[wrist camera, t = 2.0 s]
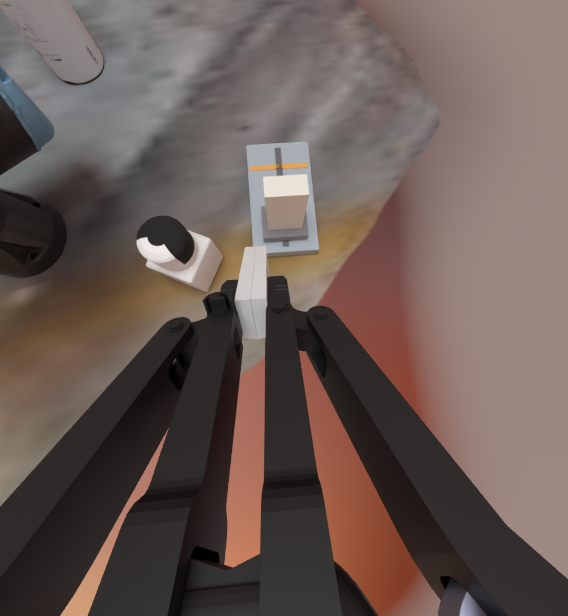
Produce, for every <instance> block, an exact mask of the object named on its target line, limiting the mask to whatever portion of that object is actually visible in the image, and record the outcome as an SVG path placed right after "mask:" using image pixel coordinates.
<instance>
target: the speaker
mask: <svg viewBox="0 0 568 616" xmlns="http://www.w3.org/2000/svg"><path fill="white" fill-rule="evenodd" d="M0 9H1V10H2V12H3V13H4V14H5V15H6V16H7V17H8V19H9V20H10V21H11V22H12V23H13V24H14V26H15V27H16V28H17V29H18V30H19V31H20V33H21V34H22V35H23V36H24V37H25V38H26V40H27V41H28V42H29V43H30V44H31V45H32V47H33V48H34V49H35V50H36V51H37V52H38V54H39V55H40V56H41V57H42V58H43V59H44V60H45V62H46V63H47V64H48V65H49V66H50V67H51V69H52V70H53V71H54V72H55V73H56V74H57V75H58V77H59V78H61V79H62V80H64V81H66V82H68V83H71V84H84V83H87V82H90V81H92V80H94V79H95V78H96V77H97V76H98V75H99V74H100V73H101V71H102V68H103V65H104V61H103V56H102V54H101V52H100V50H99V49H98V47H97V46H96V44H95V43H94V41H93V39H92V38H91V36H90V35H89V33H88V31H87V30H86V28H85V27H84V25H83V24H82V22H81V20H80V19H79V17H78V16H77V14H76V12H75V11H74V9H73V8H72V6H71V5H70V3H69V1H68V0H0Z"/></svg>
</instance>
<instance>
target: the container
mask: <svg viewBox="0 0 568 616" xmlns="http://www.w3.org/2000/svg"><path fill="white" fill-rule="evenodd" d="M137 247H138V250H139V252H140V253H141V254H142V256H143V257H145V258H146V259H148V261H147V263H146V266H147V267H148V268H150V269H152V270H154V271H156V272H158V273H160V274H162V275H164V276H167V277H169V278H171V279H173V280H176V281H178V282H181V283H183V284H186V285H188V286H191V287H194V288H196V289H199V290H201V291H204V292H208V291H209V288H210V286H211V284H212V282H213V279H214V277H215V275H216V272H217V270H218V268H219V266H220V263H221V261H222V259H223V255H222V254H221V252H220V251H219V250H218V248H217V247H216V246H215V244H214V243H213V242H212V240H211V239H210V238H207V237H205V236H202V235H199V234H197V233H194V232H191V231H189V230H186V228H185V227H184V226H183V225H182V224H181V223H180V222H179V221H178V220H176V219H174V218H172V217H169V216H156V217H153V218H151V219H149V220H147V221H146V222H145V223H144V224H143V225H142V226H141V227H140V229H139V231H138V234H137Z"/></svg>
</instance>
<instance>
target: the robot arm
mask: <svg viewBox="0 0 568 616" xmlns="http://www.w3.org/2000/svg"><path fill="white" fill-rule="evenodd" d="M53 136H54V127H53V125H52V123H51V122H50V120H49V119H48V118H47V117H46V116H45V115H44V113H43V112H42V111H41V110H40V109H39V108H38V107H37V106H36V105H35V103H34V102H33V101H32V100H31V99H30V98H29V97H28V96H27V95H26V93H25V92H24V91H23V90H22V89H21V88H20V87H19V86H18V85H17V84H16V82H15V81H14V80H13V79H12V78H11V77H10V76H9V75H8V74H7V73H6V71H5V70H4V69H3V68H2V67H1V66H0V175H1V174H3V173H5V172H6V171H8V170H9V169H11V168H12V167H14V166H16V165H17V164H19V163H20V162H22V161H23V160H25V159H27V158H28V157H30V156H31V155H33V154H34V153H36V152H39V151H40V150H41V147H42V146H44V145H45V144H46V143H47V142H48V141H50V140H51V139H52V138H53ZM65 239H66V230H65V225H64V222H63V220H62V218H61V216H60V215H59V214H58V212H57V211H56V210H54V209H53V208H52V207H50V206H49V205H47V204H45V203H43V202H41V201H39V200H37V199H35V198H33V197H31V196H28V195H24V194H20V193H17V192H13V191H9V190H6V189H2V188H0V274H1V275H6V276H11V277H28V276H32V275H35V274H38V273H40V272H42V271H44V270H45V269H47V268H48V267H49V266H50V265H52V264H53V263H54V262H55V260H56V259H57V258H58V257H59V255H60V253H61V252H62V249H63V247H64V244H65ZM203 303H204V306H205V309H206V311H207V317H206V318H205V319H202V320H199V321H196V322H192V323H191V321H190V320H189V319H188V318H185V317H178V318H174V319H172V320H170V321H168V322H167V323H165V324H164V325H163V326H162V327H161V328H160V329H159V331H158V332H157V333H156V334H155V335H154V336H153V337H152V338H151V340H150V341H149V342H148V343H147V344H146V345H145V346H144V347H143V348H142V350H141V351H140V352H139V353H138V354H137V355H136V356H135V357H134V358H133V360H132V361H131V362H130V363H129V364H128V365H127V366H126V367H125V368H124V370H123V371H122V372H121V373H120V374H119V375H118V376H117V377H116V378H115V380H114V381H113V382H112V383H111V384H110V385H109V386H108V387H107V388H106V390H105V391H104V392H103V393H102V394H101V395H100V396H99V397H98V399H97V400H96V401H95V402H94V403H93V404H92V405H91V406H90V407H89V409H88V410H87V411H86V412H85V413H84V414H83V415H82V416H81V417H80V419H79V420H78V421H77V422H76V423H75V424H74V425H73V426H72V427H71V429H70V430H69V431H68V432H67V433H66V434H65V435H64V436H63V437H62V439H61V440H60V441H59V442H58V443H57V444H56V445H55V446H54V447H53V449H52V450H51V451H50V452H49V453H48V454H47V455H46V456H45V458H44V459H43V460H42V461H41V462H40V463H39V464H38V465H37V466H36V468H35V469H34V470H33V471H32V472H31V473H30V474H29V475H28V476H27V478H26V479H25V480H24V481H23V482H22V483H21V484H20V485H19V486H18V488H17V489H16V490H15V491H14V492H13V493H12V494H11V495H10V496H9V498H8V499H7V500H6V501H5V502H4V503H3V504H2V505H1V506H0V616H60V615H61V613H62V612H63V610H64V609H65V607H66V606H67V604H68V603H69V601H70V600H71V598H72V597H73V595H74V594H75V592H76V591H77V589H78V587H79V586H80V584H81V582H82V581H83V579H84V577H85V575H86V574H87V572H88V570H89V569H90V567H91V565H92V564H93V562H94V560H95V558H96V556H97V555H98V553H99V551H100V549H101V547H102V546H103V544H104V542H105V540H106V539H107V537H108V535H109V533H110V532H111V530H112V528H113V526H114V524H115V522H116V521H117V519H118V517H119V515H120V514H121V512H122V510H123V508H124V506H125V505H126V503H127V501H128V499H129V498H130V496H131V494H132V492H133V490H134V489H135V487H136V485H137V483H138V481H139V480H140V478H141V476H142V474H143V473H144V471H145V469H146V467H147V465H148V464H149V462H150V460H151V458H152V457H153V455H154V453H155V451H156V449H157V448H158V446H159V444H160V442H161V440H162V438H163V437H164V435H165V433H166V432H167V430H168V432H167V435H166V438H165V441H164V444H163V448H162V450H161V453H160V456H159V459H158V462H157V465H156V468H155V471H154V474H153V477H152V481H151V483H150V485H149V487H148V490H147V491H146V493H145V494H144V495H143V496H142V497H141V498H140V499H139V500H138V501H137V502H135V503H134V504H133V506H132V508H131V509H130V510H129V512H128V513H127V515H126V518H125V520H124V522H123V524H122V526H121V529H120V531H119V534H118V537H117V539H116V542H115V545H114V547H113V550H112V553H111V555H110V558H109V561H108V563H107V566H106V569H105V571H104V574H103V577H102V579H101V582H100V585H99V587H98V590H97V593H96V595H95V598H94V601H93V603H92V606H91V609H90V611H89V614H88V616H378V614H377V613H376V612H375V610H374V609H373V607H372V606H371V604H370V602H369V601H368V599H367V598H366V596H365V595H364V593H363V592H362V590H361V589H360V588H359V586H358V585H357V584H356V582H355V581H354V580H353V579H352V578H351V577H350V575H349V574H348V573H347V572H346V571H345V570H344V569H343V568H342V567H341V566H340V565H338V564H337V563H336V562H334V560H333V554H332V548H331V541H330V535H329V529H328V523H327V516H326V510H325V504H324V499H323V493H322V488H321V484H320V481H319V478H318V473H317V468H316V461H315V455H314V448H313V442H312V435H311V429H310V423H309V415H308V409H307V402H306V395H305V389H304V382H303V376H302V369H301V362H300V356H299V350H301V351H306V352H307V355H308V357H309V359H310V361H311V363H312V365H313V367H314V369H315V371H316V372H317V375H318V377H319V379H320V381H321V383H322V385H323V386H324V388H325V390H326V392H327V394H328V396H329V398H330V400H331V402H332V404H333V406H334V408H335V410H336V412H337V414H338V416H339V418H340V420H341V422H342V424H343V426H344V428H345V430H346V432H347V433H348V436H349V438H350V439H351V441H352V443H353V445H354V447H355V449H356V451H357V453H358V455H359V457H360V459H361V461H362V463H363V465H364V467H365V469H366V471H367V473H368V475H369V477H370V478H371V481H372V483H373V484H374V487H375V488H376V490H377V492H378V494H379V496H380V498H381V500H382V502H383V504H384V506H385V508H386V510H387V512H388V514H389V516H390V518H391V520H392V522H393V524H394V526H395V527H396V530H397V532H398V533H399V535H400V537H401V539H402V540H403V543H404V544H405V546H406V548H407V550H408V552H409V553H410V555H411V557H412V559H413V560H414V562H415V563H416V565H417V566H418V568H419V569H420V571H421V572H422V574H423V576H424V577H425V579H426V580H427V582H428V583H429V585H430V586H431V588H432V589H433V590H434V592H435V593H436V594H437V596H438V597H439V598H440V600H441V602H440V606H439V610H438V616H568V579H567V578H566V577H565V576H564V575H562V574H561V573H560V572H559V571H558V570H556V568H554V567H553V566H552V565H551V564H550V563H549V562H548V561H546V560H545V559H544V558H543V557H542V556H541V555H540V554H538V553H537V552H536V551H535V550H534V549H533V548H532V547H530V546H529V545H528V544H527V543H526V542H525V541H524V540H523V539H522V538H520V537H519V536H518V535H517V534H516V533H515V532H514V531H512V530H511V529H510V528H509V527H508V526H507V525H506V524H505V523H504V521H502V519H501V518H500V516H499V515H498V514H497V513H496V512H495V510H494V509H493V508H492V507H491V505H490V504H489V503H488V502H487V501H486V499H485V498H484V497H483V495H482V494H481V493H480V492H479V490H478V489H477V488H476V487H475V485H474V484H473V483H472V482H471V481H470V479H469V478H468V477H467V476H466V474H465V473H464V472H463V471H462V469H461V468H460V467H459V466H458V464H457V463H456V462H455V461H454V459H452V457H451V456H450V455H449V453H448V452H447V451H446V450H445V448H444V447H443V446H442V445H441V443H439V441H438V440H437V438H436V437H435V436H434V435H433V434H432V432H431V431H430V430H429V429H428V427H427V426H426V425H425V424H424V422H423V421H422V420H421V419H420V417H419V416H418V415H417V414H416V413H415V411H414V410H413V409H412V407H411V406H410V405H409V404H408V402H407V401H406V400H405V399H404V398H403V396H402V395H401V394H400V393H399V391H398V390H397V389H396V388H395V386H394V385H393V384H392V383H391V381H390V380H389V379H388V378H387V376H386V375H385V374H384V373H383V372H382V370H381V369H380V368H379V367H378V365H377V364H376V363H375V362H374V361H373V359H372V358H371V357H370V355H369V354H368V353H367V352H366V350H365V349H364V348H363V347H362V346H361V344H360V343H359V342H358V341H357V339H356V338H355V337H354V336H353V334H352V333H351V332H350V331H349V329H348V328H347V327H346V326H345V324H344V323H343V322H342V321H341V320H340V318H339V317H338V316H337V315H336V313H335V312H334V311H333V310H332V309H330V308H328V307H325V306H315V307H312V308H310V309H309V310H308V312H303V311H299V310H296V309H295V308H293V307H292V306H291V303H290V297H289V290H288V284H287V279H286V278H285V277H284V276H272V277H269V268H268V258H267V248H266V246H255V247H245V250H244V255H243V260H242V265H241V270H240V275H239V280H227V281H226V282H225V283H224V284H223V285H222V287H221V291H220V292H215V293H212V294H210V295H208V296H206V297H205V298H204V300H203ZM242 335H243V339H244V340H250V339H257V338H258V339H262V338H265V446H264V484H263V489H262V499H261V542H260V543H261V544H260V545H261V546H260V554H259V555H257V556H255V557H253V558H251V559H249V560H247V561H245V562H243V563H241V564H239V565H237V566H236V567H234V568H232V567H229V566H226V565H224V560H225V550H226V540H227V515H226V502H227V492H228V482H229V473H230V464H231V454H232V445H233V436H234V426H235V417H236V408H237V399H238V389H239V380H240V371H241V362H242V353H243V344H242ZM175 359H176V360H175ZM174 360H175V362H174ZM173 362H174V363H173ZM172 363H173V364H172ZM169 426H170V427H169ZM168 428H169V429H168Z"/></svg>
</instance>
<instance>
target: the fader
mask: <svg viewBox="0 0 568 616" xmlns="http://www.w3.org/2000/svg"><path fill="white" fill-rule="evenodd" d="M263 184H264V197H265V206H261V216H262V229H263V240H264V242H273V241H288V240H302V239H308V225H307V215H306V207H307V202H308V197H309V189H308V179H307V174H300V175H284V176H267V177H263Z"/></svg>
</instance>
